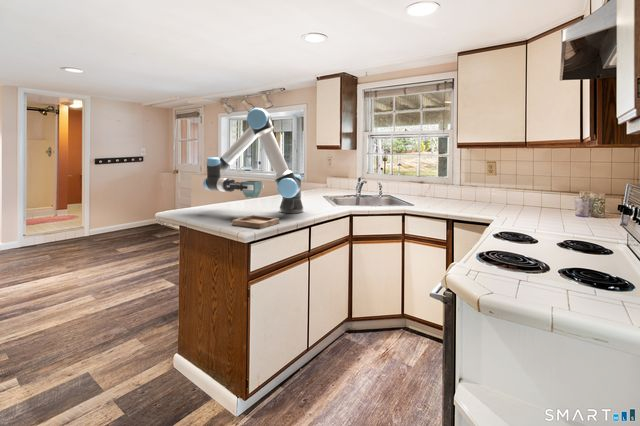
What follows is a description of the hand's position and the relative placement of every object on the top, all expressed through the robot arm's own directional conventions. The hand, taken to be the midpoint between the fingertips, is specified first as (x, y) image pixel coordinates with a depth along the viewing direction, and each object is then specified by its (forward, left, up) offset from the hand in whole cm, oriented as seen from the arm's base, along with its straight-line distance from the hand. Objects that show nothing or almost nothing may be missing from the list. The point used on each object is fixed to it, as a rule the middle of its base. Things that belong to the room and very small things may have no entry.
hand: (258, 187), depth 196 cm
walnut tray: (+15, +10, -17) cm, 25 cm away
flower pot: (0, -4, -6) cm, 8 cm away
